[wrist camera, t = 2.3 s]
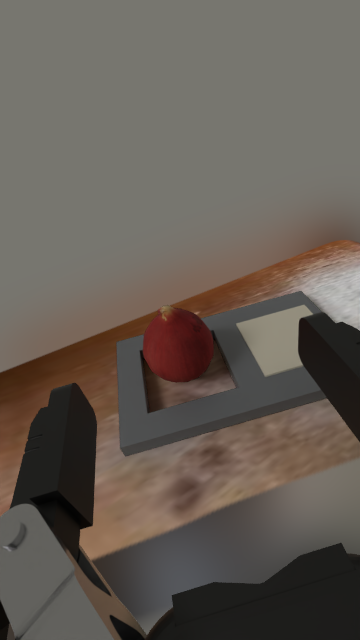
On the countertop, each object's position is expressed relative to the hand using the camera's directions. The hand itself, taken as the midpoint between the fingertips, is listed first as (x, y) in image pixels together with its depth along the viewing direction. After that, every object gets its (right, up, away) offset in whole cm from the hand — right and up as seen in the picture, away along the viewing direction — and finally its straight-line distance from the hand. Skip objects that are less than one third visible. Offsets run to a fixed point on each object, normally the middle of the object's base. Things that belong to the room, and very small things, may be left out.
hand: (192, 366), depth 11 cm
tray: (+4, -2, +17) cm, 18 cm away
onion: (0, -4, +17) cm, 17 cm away
